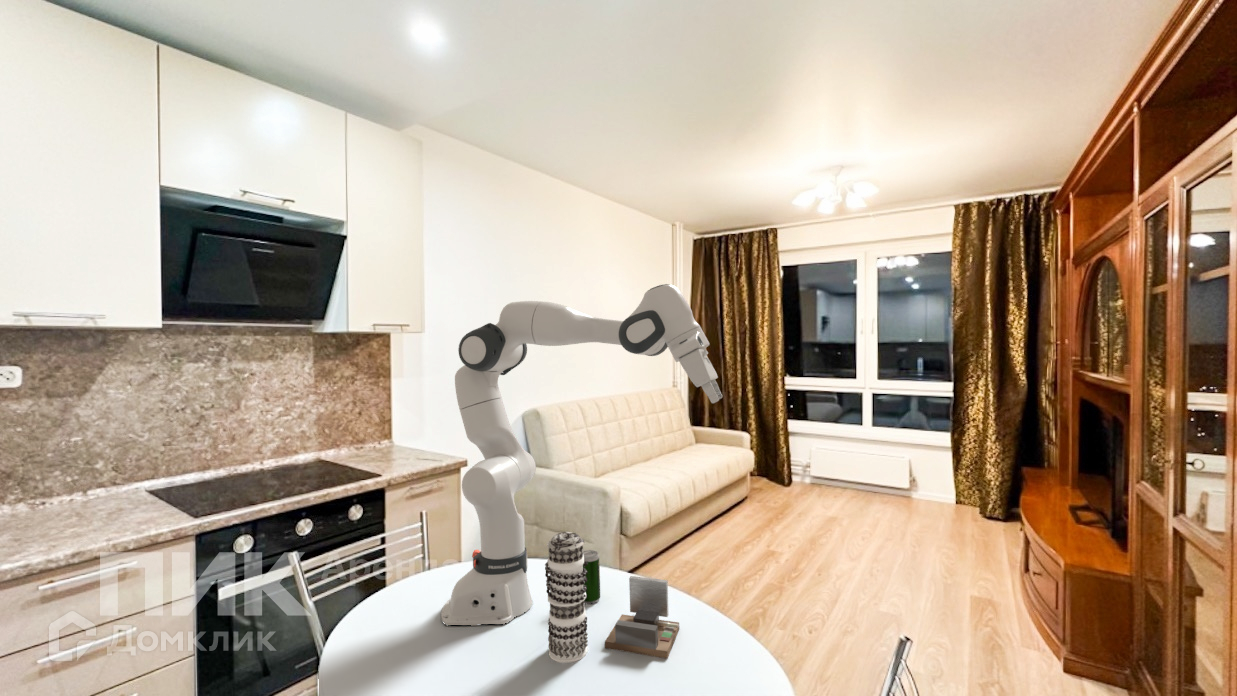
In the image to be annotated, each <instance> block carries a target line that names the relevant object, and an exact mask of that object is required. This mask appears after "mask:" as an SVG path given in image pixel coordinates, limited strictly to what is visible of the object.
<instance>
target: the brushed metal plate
mask: <svg viewBox="0 0 1237 696" xmlns="http://www.w3.org/2000/svg"><path fill="white" fill-rule="evenodd" d="M628 580H629V612H630V613H635V614H634V615H633V616H634V618H633V622H635V623H642V624H649V625H656V626H657V625H661V626H667V627H674V628H678V627H679V628H680V623H679V624H675V623H668V622H661V621H659V620H660V617H663V618H668V617H669V591H668V590H669V588H668V586H669V584H668V580H667V579H660V578H659V579H658V578H652V577H642V576H636V575H635V576H633V575H630V576H629V578H628Z"/></svg>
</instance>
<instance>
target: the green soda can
mask: <svg viewBox="0 0 1237 696" xmlns="http://www.w3.org/2000/svg"><path fill="white" fill-rule="evenodd" d="M583 554H584V559H585V560H586V561H587V565H586V566H585V567H584V564H583V568H584V569H586V570H587V574H586V575H585V577H587V582H585V583H584V585H585V586H586V587H587V591H585V592H586V598H585V600H584V603H587V604H586V605H592V604H591V603H594V604H596V603H598V602H599V601H600V599H601V576H600V575H601V574H600V573H601V572H600V564H601V563H600V555H599V552H598V551H596V550H593V549H589V550H588V549H587V550H583ZM583 580H584V579H583ZM597 601H598V602H597Z"/></svg>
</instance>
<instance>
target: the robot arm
mask: <svg viewBox="0 0 1237 696" xmlns="http://www.w3.org/2000/svg"><path fill="white" fill-rule="evenodd" d="M643 294H644V295H643V298H642V300H641V301H640V303H639V304H638V305H637V307H636V308H635V310H633V312H632V313H630V315H629V316H628V317H626V318H625V319H624V320H617V319H607V318H599V317H596V316H593V315H589V314H587V313H584V312H582V311H580V310H577V309H575V308H572V307H569V306H566V305H564V304H559V303H555V302H549V301H539V300H524V301H513V302H510V303H507V304H506V305H505V306H504V307H503V308H502V310H501V312H500V313H499V319H498V322H497V323H496V324H494V323H491V322H488V323H486V324H484V325H482V326H480V327H478V328H476V329H473V330H471V331H469V332H467V333H466V334H465V335H463V337H462V338H461V339H460V341H459V344H458V348H457V349H458V356H459V359H460V361H461V363H462V364H463V366H461V367H460V368H459V369H457V371H456V373H455V375H454V386H455V387H454V389H455V395H456V399H457V405H458V409H459V413H460V416H461V420H462V423H463V427H464V430H465V434H466V438H467V439H468V440H469V442H470V443H472V444H474V445H475V446H476V447H477V448H478V449H479V451H480V453H481V454H482V456H483V458H484V459H483V460H480V461H479V462H477V463H475V464H474V465H473V466H472V467H471V468H469V469H468V470H467V471H466V473H465V474H464V475H463V477H462V480H461V490H462V494H463V496H464V497H465V500H467V501H468V503H470V504H471V505H473V507H474V509H475V512H476V515H477V517H478V518H477V519H478V522H479V530H480V533H479V534H480V550H479V549H474V550H473V551H472V554H471V555H472V556H471V557H472V568H471V569H470V570H469V571H468V572H467V573H466V574H465V575H463V576H462V577H460V579H458V581H456V583H455V585H454V587H453V589H452V592H451V596H450V598H449V599H448V600H447V601H446V602H445V603H444V605H443V607H442V609H441V613H440V615H441V616H440V619H441V618H442V620H441V622H442V621H443V622H444V623H445V624H446V625H471V626H478V625H477V624H480V625H479V626H482V625H481V624H503V625H506V624H505V623H507V624H508V622H509V621H510V622H511V621H512V620H514V619H515V618H516V616H517V617H519V616H521V615H523V614H525V613H526V612H527V611H529V610H530V609H531V608H532V606H533V599H532V595H531V591H530V588H529V587H530V586H529V583H528V582H529V581H528V576H527V572H528V552H527V547H526V546H525V542H526V541H525V537H526V536H525V519H524V517H523V516H522V514H520V513H518V510H517V507H516V504H515V494H516V493H517V492H518V491H521V490H522V489H524V488H526V487H527V485H528V484H529V483H530V482H531V480H532V479H533V478H534V477H535V475H536V472H537V471H536V469H537V466H536V465H537V464H536V462H535V459H534V457H533V456H532V454H531V453H529V452H528V451H526V450H525V449H524V448H523V445H522V444H520V441H519V439H518V438H517V437H516V434H515V433H514V431H513V428H512V427H511V423H510V422H509V418H508V415H507V411H506V409H505V404H504V402H503V398H502V395H501V392H500V388H499V383H498V381H499V377H500V376H505V375H507V374H508V373H509V372H511V371H512V370H514V369H515V368H516V367H518V366H519V365H521V364H522V363H523V361H524V360H525V358H526V356H527V352H528V346H527V344H529V345H535V346H536V345H537V346H544V347H545V346H548V347H553V346H554V347H557V346H558V347H559V346H568V345H569V346H570V345H578V344H585V343H586V344H587V343H600V344H601V343H602V344H607V345H608V344H610V345H617V346H621V347H623V349H624V350H625V351H627V352H628V353H629V354H634V355H643V356H648V357H657V356H659V355H661V354H663V353H664V352H665V351H666V350H667V348H668V350H669V352H670V353H671V355H672V357H673V359H674V361H675V362H676V363H678V362H679V364H680V366H681V367H682V369H683V370H684V372H685V373H686V375H687V376H688V378H689V380H690V381H691V382H692V384H693V385H694V387H696V388H699V387H701V388H702V390H703V392H704V394H705V395H706V396H707V397H708V400H709V401H710V403H711V404H715V403H717V402H719V401H720V400H721V399H722V398H723V394H722V392H721V390H720V387H719V384H718V382H717V381H716V379H718V378H719V376H718V374H717V371H716V370H715V368H714V366H713V363H712V362H711V360H710V359H709V357H708V354H709V352H708V350H707V347H709V346H710V342H709V340H708V338H707V336H706V335H705V332H704V331H703V329H702V327H701V325H700V324H699V323H698V322H697V321H696V320H695V318H694V315H693V311H692V308H691V306H690V304H689V303H688V301H687V300H686V298H685V296H684V295H683V293H682V292H681V290H680V289H679V287H677V286H675V285H673V284H667V283H665V284H659V285H657V286H654V287H651V288H650V289H649V290H647V291H646V292H645V293H643ZM524 612H525V613H524ZM514 617H515V618H514ZM510 622H509V623H510Z"/></svg>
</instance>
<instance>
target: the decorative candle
mask: <svg viewBox="0 0 1237 696" xmlns="http://www.w3.org/2000/svg"><path fill="white" fill-rule="evenodd" d="M584 544H585V540H584V539H583V538H581V537H580V535H579V534H577V533H576V532H572V531H570V532H569V531H564V532H560V533H556V534H555V535H553V536H552V537H551V539H550V540H549V541H548V542H547V547H548V557H547V562H546V563H545V564H544V566H545V568H544V569H545V577H546V580H545V582H546V593H547V601H548V602H549V607H550V608H549V612H548V613H549V618H548V620H547V625H548V638H547V640H548V645H547V646H548V647H547V648H548V650H549V652H548V653H549V654H548V655H549V657H550V658H551V659H552V660H553V661H554V662H555V661H556V662H557V663H563V664H568V663H575V662H578V661H580V660H581V659H583V658H584V657H586V656H587V653H588V651H589V649H588V642H589V641H588V632H587V631H588V617H587V616H586V613H587V612H586V607H585V606H586V605H585V603H584V600H585V598H586V592H585V591H587V587H586V586H585V585H584V583H585V582H587V577H585V575H586V574H587V570H586V569H584V568H583V564H584V567H585V566H586V565H587V561H586V560H585V559H584V554H583V551H584V547H583V546H584ZM583 579H584V580H583Z"/></svg>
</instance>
